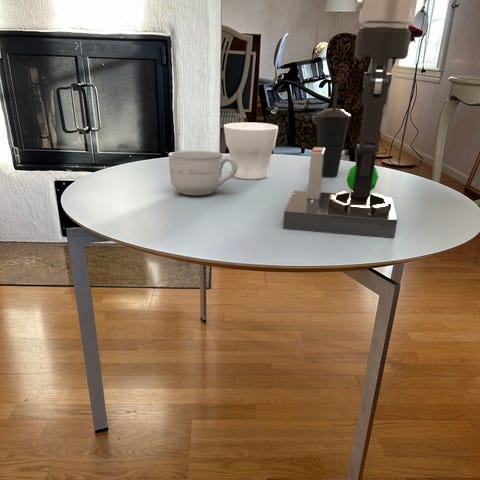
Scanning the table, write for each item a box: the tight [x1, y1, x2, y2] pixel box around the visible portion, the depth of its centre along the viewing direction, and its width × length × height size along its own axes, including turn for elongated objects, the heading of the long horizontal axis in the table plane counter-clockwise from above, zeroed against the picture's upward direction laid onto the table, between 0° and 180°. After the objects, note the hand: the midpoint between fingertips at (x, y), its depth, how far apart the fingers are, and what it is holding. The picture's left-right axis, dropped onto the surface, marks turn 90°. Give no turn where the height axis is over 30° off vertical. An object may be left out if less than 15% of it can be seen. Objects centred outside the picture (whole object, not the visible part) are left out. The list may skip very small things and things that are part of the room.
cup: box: [223, 121, 279, 180], centre depth 111 cm, size 12×12×11 cm
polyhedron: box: [346, 164, 379, 191], centre depth 79 cm, size 5×5×5 cm
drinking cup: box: [316, 82, 352, 178], centre depth 111 cm, size 8×8×20 cm
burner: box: [329, 190, 391, 217], centre depth 81 cm, size 10×10×2 cm
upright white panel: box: [307, 146, 325, 199], centre depth 85 cm, size 5×2×8 cm, turn 167°
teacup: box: [167, 150, 237, 196], centre depth 97 cm, size 14×11×8 cm
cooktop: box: [282, 190, 398, 239], centre depth 85 cm, size 19×16×3 cm
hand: (360, 191), depth 80 cm, fingers closed on polyhedron, 5 cm apart
